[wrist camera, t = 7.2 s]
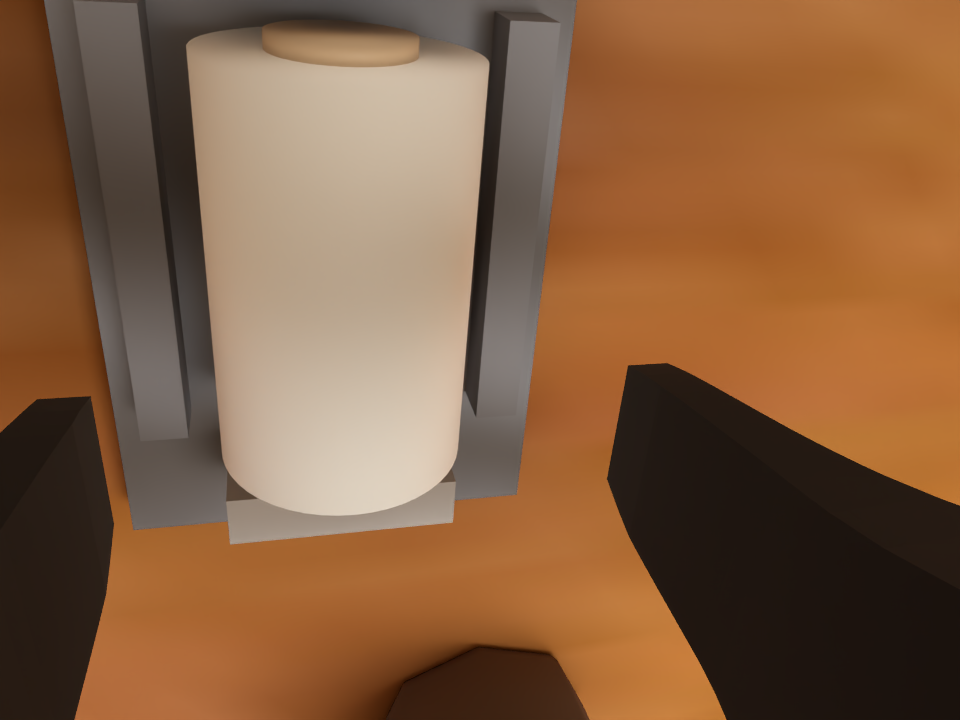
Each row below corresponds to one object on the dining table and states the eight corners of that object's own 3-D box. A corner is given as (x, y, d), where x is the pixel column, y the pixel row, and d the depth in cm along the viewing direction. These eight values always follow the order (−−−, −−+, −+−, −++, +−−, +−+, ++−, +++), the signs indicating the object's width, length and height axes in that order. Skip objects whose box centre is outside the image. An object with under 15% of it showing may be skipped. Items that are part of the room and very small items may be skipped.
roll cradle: (505, 468, 24) (546, 564, 21) (139, 499, 22) (119, 613, 19) (578, -185, 16) (661, -197, 13) (18, -245, 14) (-54, -279, 11)
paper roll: (432, 384, 21) (480, 514, 17) (224, 396, 20) (220, 540, 16) (455, 16, 17) (527, 68, 13) (191, 2, 15) (174, 55, 11)
